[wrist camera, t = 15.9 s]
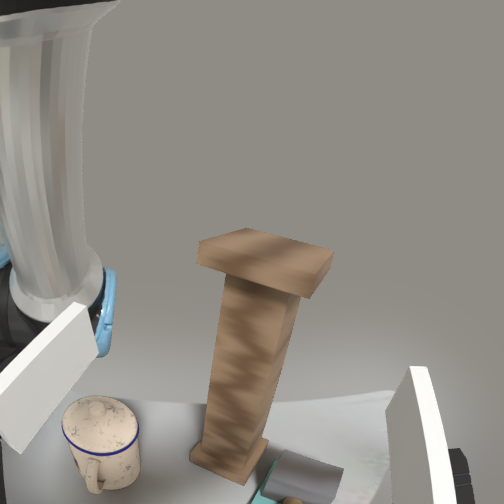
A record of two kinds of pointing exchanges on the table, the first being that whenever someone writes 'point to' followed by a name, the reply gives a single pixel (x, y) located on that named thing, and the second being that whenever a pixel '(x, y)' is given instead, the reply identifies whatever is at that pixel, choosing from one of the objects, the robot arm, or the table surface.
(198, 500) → the table surface
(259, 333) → the stand
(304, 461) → the mallet
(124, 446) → the teacup with lid
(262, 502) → the mat
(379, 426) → the table surface
